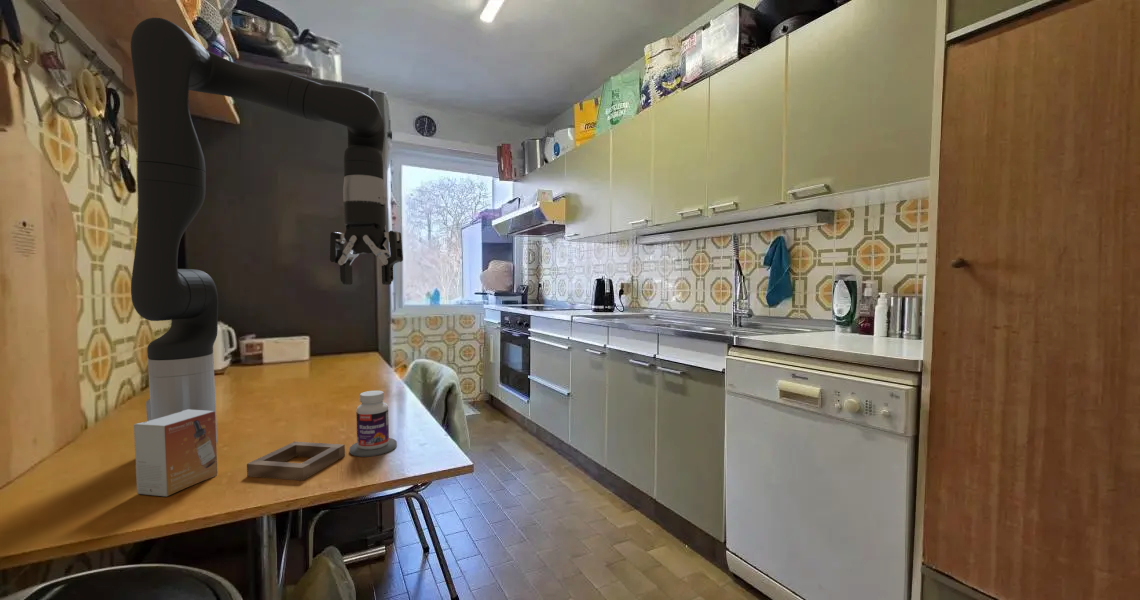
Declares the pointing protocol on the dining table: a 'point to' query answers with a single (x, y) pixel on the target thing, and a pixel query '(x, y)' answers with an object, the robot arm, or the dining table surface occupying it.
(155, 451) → the small box
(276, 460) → the frame
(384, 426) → the pill bottle
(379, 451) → the coaster
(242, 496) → the dining table surface
